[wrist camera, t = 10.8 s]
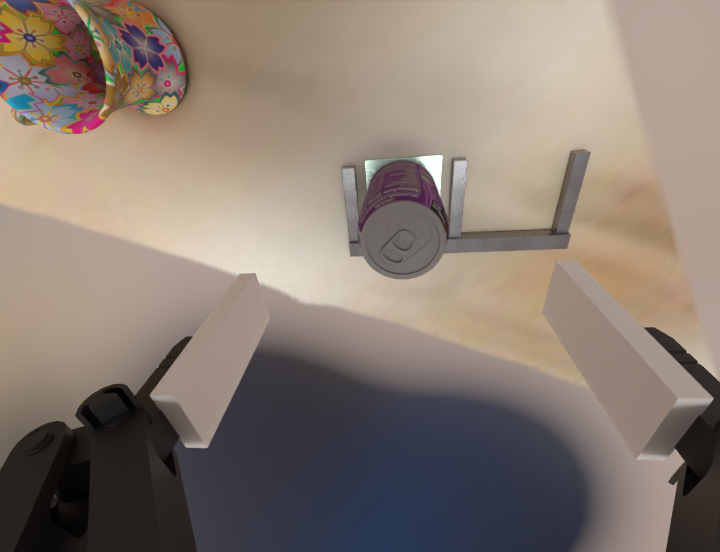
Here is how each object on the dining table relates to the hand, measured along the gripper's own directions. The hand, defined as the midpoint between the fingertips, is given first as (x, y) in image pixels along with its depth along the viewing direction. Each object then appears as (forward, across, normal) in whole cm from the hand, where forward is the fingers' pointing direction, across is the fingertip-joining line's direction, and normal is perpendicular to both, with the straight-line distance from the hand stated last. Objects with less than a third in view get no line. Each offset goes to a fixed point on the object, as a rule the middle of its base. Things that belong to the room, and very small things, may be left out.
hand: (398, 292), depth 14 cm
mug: (+22, -23, +11) cm, 34 cm away
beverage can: (+21, +1, -2) cm, 21 cm away
